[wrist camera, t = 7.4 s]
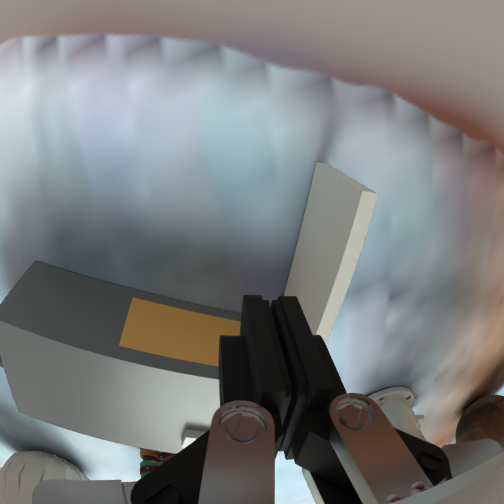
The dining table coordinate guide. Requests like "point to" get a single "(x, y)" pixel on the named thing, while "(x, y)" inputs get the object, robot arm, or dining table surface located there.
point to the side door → (329, 245)
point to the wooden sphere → (483, 421)
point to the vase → (32, 474)
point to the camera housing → (112, 358)
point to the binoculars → (152, 460)
